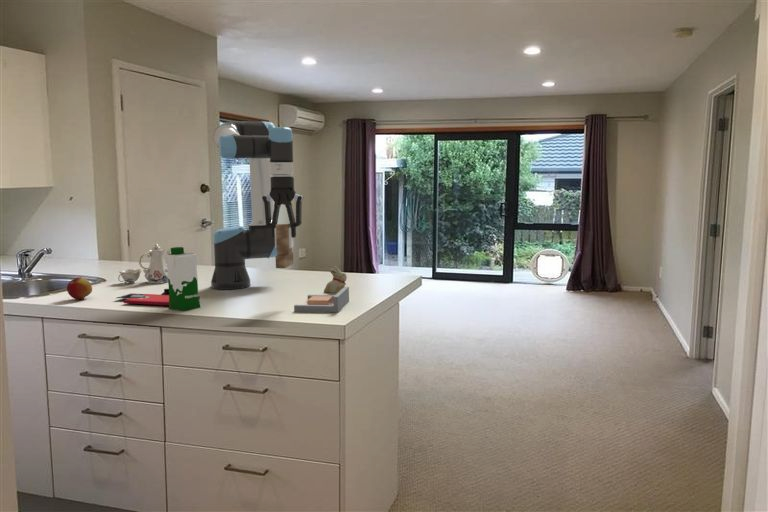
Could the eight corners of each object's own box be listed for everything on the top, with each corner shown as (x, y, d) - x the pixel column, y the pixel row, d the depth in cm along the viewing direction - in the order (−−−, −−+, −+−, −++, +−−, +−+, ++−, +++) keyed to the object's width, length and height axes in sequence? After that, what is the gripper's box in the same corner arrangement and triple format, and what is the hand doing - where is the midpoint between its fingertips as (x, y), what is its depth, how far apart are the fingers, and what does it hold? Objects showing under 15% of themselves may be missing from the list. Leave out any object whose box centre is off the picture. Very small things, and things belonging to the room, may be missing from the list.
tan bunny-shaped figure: (343, 293, 223) (343, 266, 221) (323, 292, 224) (322, 266, 223) (347, 290, 228) (346, 264, 227) (327, 290, 230) (326, 263, 228)
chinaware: (173, 278, 271) (169, 241, 270) (196, 278, 261) (191, 239, 259) (114, 288, 249) (108, 248, 247) (136, 288, 238) (130, 246, 237)
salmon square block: (307, 309, 198) (307, 300, 198) (312, 304, 205) (312, 296, 204) (328, 309, 197) (328, 300, 197) (332, 304, 204) (332, 296, 204)
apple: (68, 298, 219) (66, 276, 218) (93, 296, 223) (91, 275, 222) (67, 302, 213) (65, 279, 212) (92, 300, 216) (90, 278, 215)
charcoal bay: (294, 311, 193) (293, 296, 192) (308, 300, 210) (308, 286, 210) (338, 312, 191) (337, 297, 190) (349, 301, 208) (348, 286, 208)
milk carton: (186, 304, 207) (183, 246, 204) (204, 307, 202) (201, 247, 199) (164, 309, 199) (161, 248, 197) (183, 312, 194) (179, 250, 192)
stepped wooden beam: (274, 268, 196) (272, 225, 194) (283, 263, 206) (282, 222, 204) (286, 268, 195) (285, 225, 193) (295, 263, 205) (293, 222, 203)
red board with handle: (134, 294, 224) (105, 303, 209) (133, 287, 223) (104, 295, 209) (205, 298, 215) (180, 307, 201) (205, 290, 215) (180, 298, 201)
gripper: (252, 176, 194) (255, 248, 197) (304, 175, 192) (306, 249, 195) (260, 176, 201) (263, 245, 205) (310, 175, 199) (312, 246, 202)
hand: (284, 247), depth 200 cm, fingers closed on stepped wooden beam, 4 cm apart
